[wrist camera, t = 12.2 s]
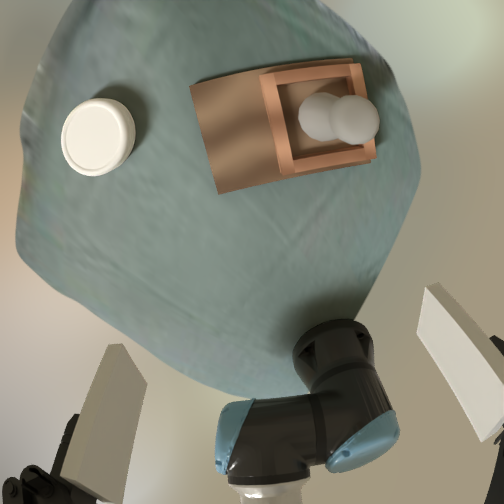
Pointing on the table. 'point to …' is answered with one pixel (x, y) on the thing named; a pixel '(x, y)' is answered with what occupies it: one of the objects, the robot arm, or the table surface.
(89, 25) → the table surface
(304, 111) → the salt shaker
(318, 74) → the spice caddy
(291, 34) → the table surface
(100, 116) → the white round container
